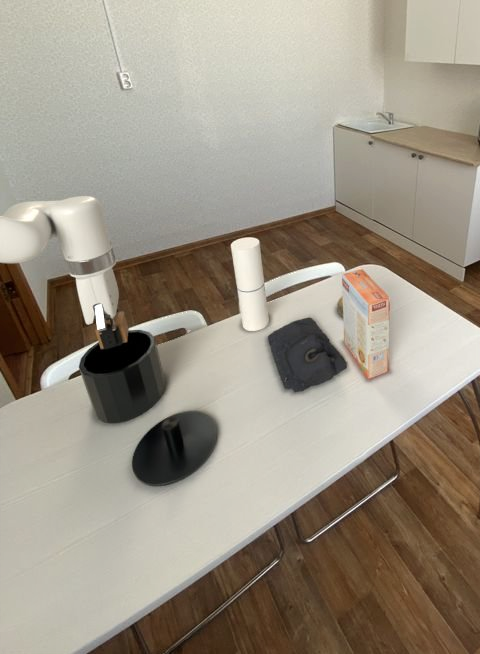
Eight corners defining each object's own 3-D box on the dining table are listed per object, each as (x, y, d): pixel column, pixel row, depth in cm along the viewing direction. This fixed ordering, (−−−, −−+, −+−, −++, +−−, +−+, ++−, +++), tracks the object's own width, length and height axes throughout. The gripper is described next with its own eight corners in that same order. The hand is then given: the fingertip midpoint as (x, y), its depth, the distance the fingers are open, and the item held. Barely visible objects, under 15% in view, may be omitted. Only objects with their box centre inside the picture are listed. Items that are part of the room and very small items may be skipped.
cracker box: (390, 372, 90) (391, 297, 83) (367, 381, 88) (366, 304, 80) (364, 335, 102) (363, 267, 95) (343, 342, 99) (340, 273, 92)
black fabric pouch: (318, 319, 108) (317, 305, 107) (350, 373, 90) (350, 357, 88) (264, 336, 102) (262, 322, 101) (287, 398, 84) (285, 381, 82)
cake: (331, 317, 110) (329, 301, 109) (346, 298, 119) (345, 283, 117) (362, 324, 106) (360, 307, 104) (376, 304, 114) (374, 288, 113)
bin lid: (131, 505, 64) (121, 477, 62) (135, 433, 76) (127, 408, 74) (221, 465, 70) (216, 438, 68) (212, 404, 82) (207, 380, 80)
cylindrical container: (237, 329, 105) (225, 248, 96) (250, 313, 112) (240, 236, 103) (261, 333, 104) (250, 251, 95) (273, 316, 110) (264, 238, 101)
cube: (100, 349, 76) (95, 330, 75) (103, 335, 80) (98, 317, 79) (127, 341, 78) (122, 323, 77) (128, 328, 82) (123, 310, 81)
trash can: (90, 434, 76) (73, 386, 72) (99, 385, 88) (85, 341, 83) (166, 407, 82) (154, 361, 77) (165, 365, 93) (154, 323, 89)
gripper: (76, 246, 78) (98, 320, 85) (57, 288, 64) (87, 372, 70) (118, 239, 81) (137, 310, 88) (109, 276, 67) (133, 358, 74)
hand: (114, 337), depth 79 cm, fingers closed on cube, 4 cm apart
